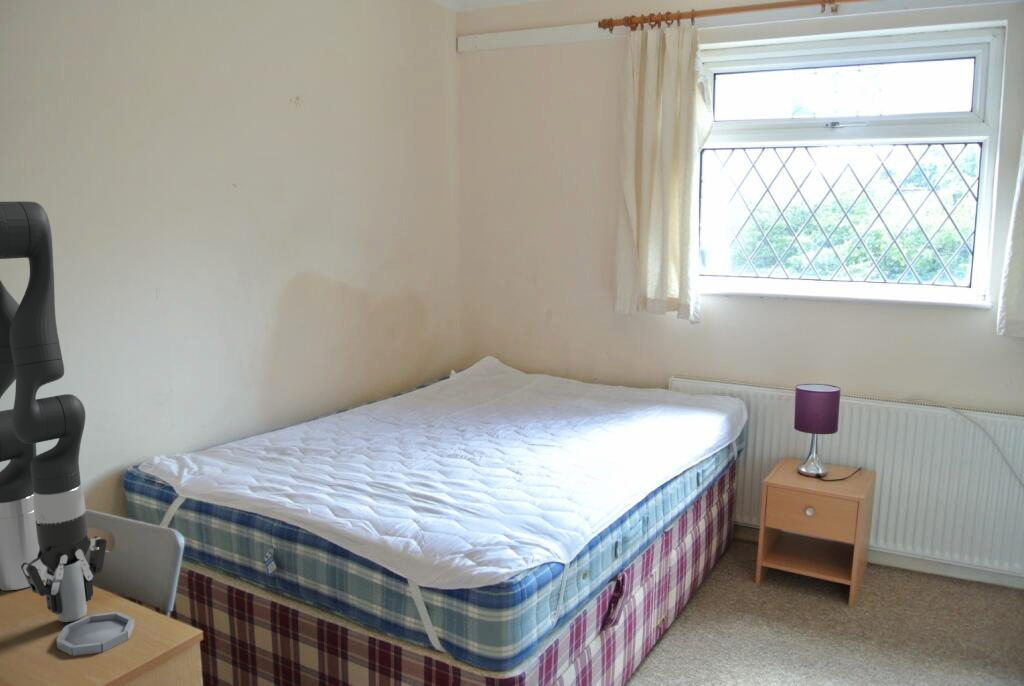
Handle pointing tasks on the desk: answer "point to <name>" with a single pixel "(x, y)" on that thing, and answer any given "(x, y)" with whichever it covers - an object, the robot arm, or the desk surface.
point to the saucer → (95, 633)
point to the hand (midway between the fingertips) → (71, 605)
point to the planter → (72, 593)
